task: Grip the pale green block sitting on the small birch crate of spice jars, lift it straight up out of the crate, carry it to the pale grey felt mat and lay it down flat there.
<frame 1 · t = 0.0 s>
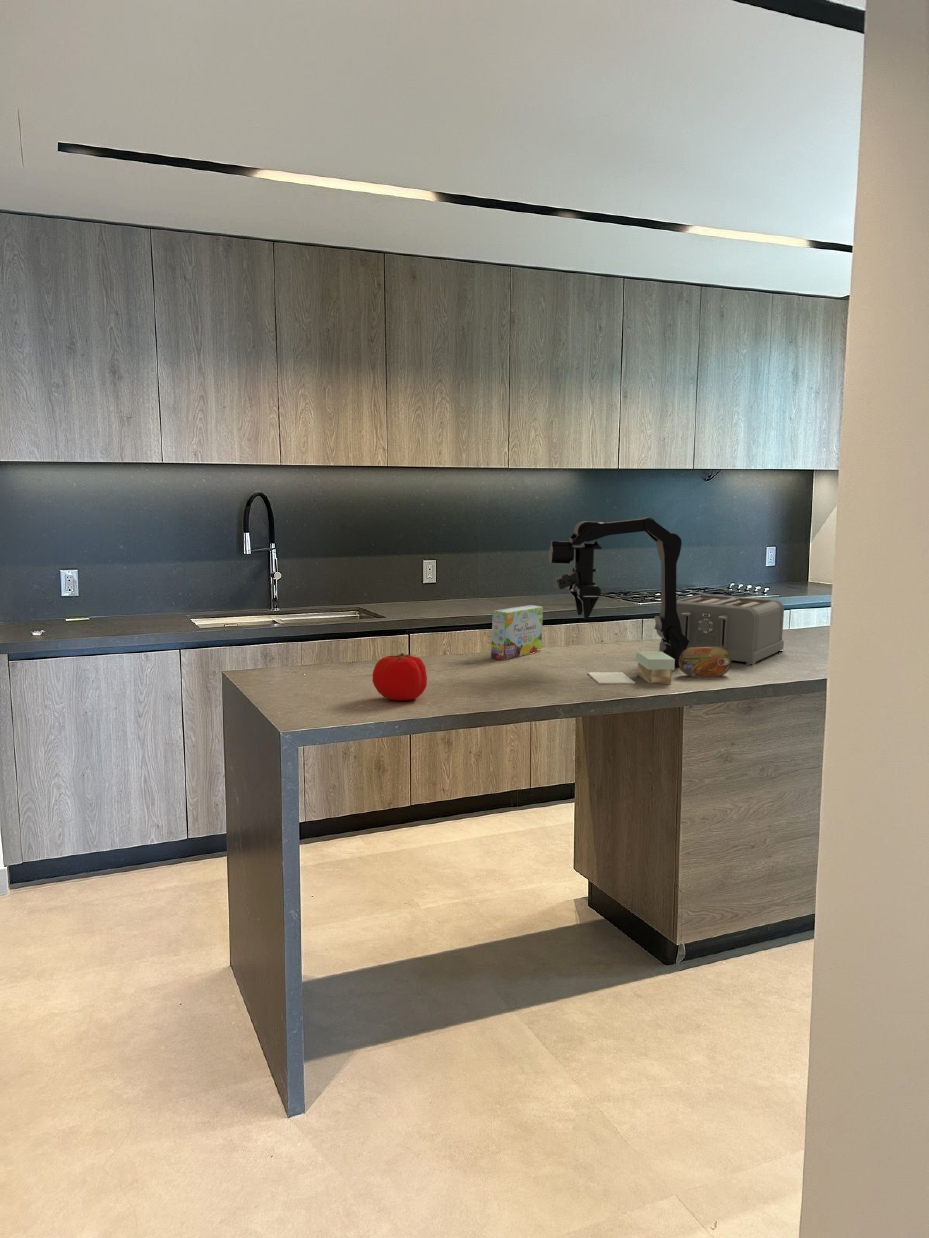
hand: (582, 617, 273), 15 cm above the countertop, tool pointing down, fingers open, 9 cm apart
snack box: (517, 655, 292), on the countertop
toaster: (719, 654, 301), on the countertop
tomato: (399, 700, 228), on the countertop
tin: (703, 676, 263), on the countertop
mat: (610, 678, 257), on the countertop
crate: (654, 679, 257), on the countertop
pale green block: (654, 670, 257), point 2 cm above the countertop, touching crate
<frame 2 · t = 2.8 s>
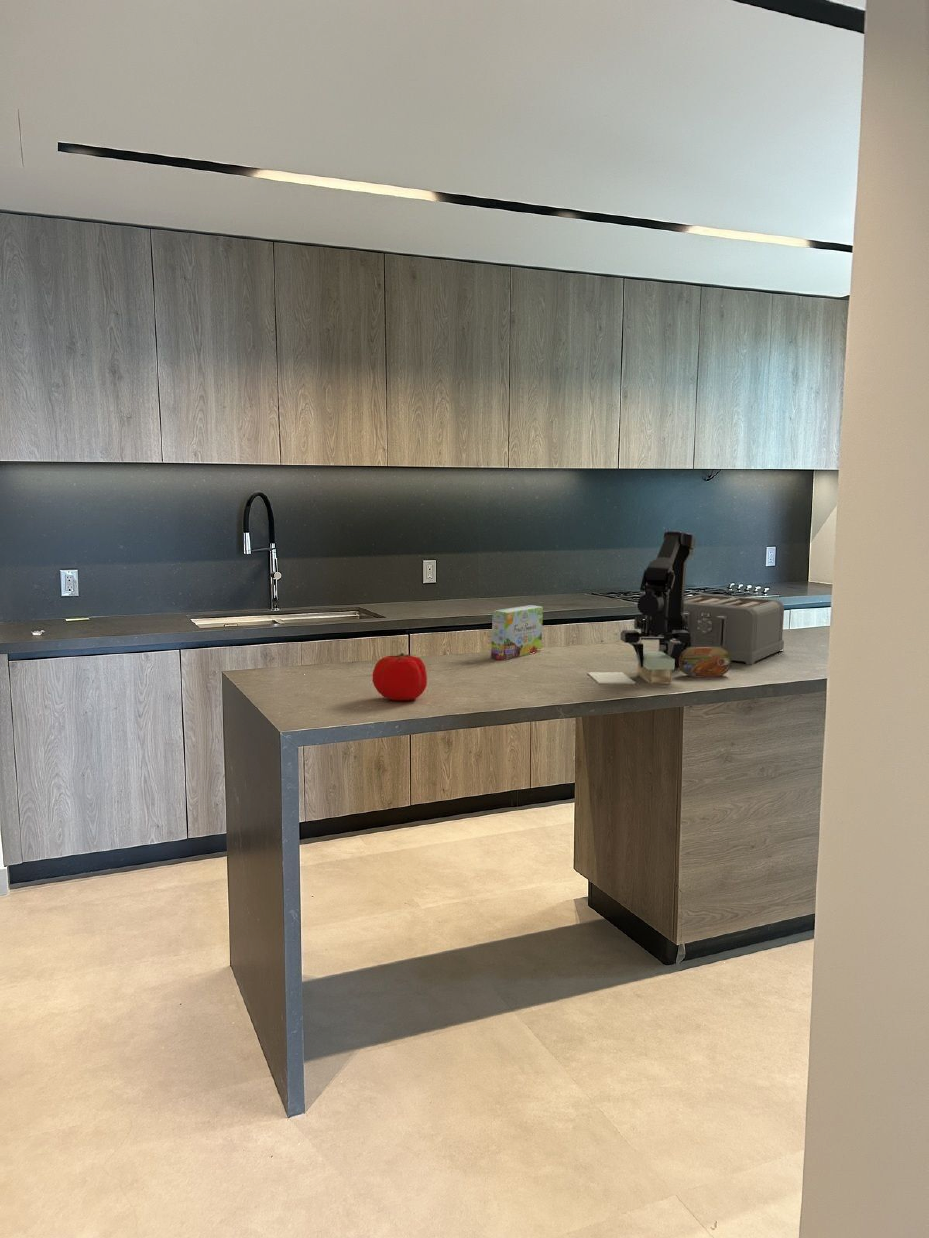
hand: (654, 667, 257), 3 cm above the countertop, tool pointing down, fingers closed on pale green block, 7 cm apart
pale green block: (654, 670, 257), point 2 cm above the countertop, touching crate, gripper
everything else where it was.
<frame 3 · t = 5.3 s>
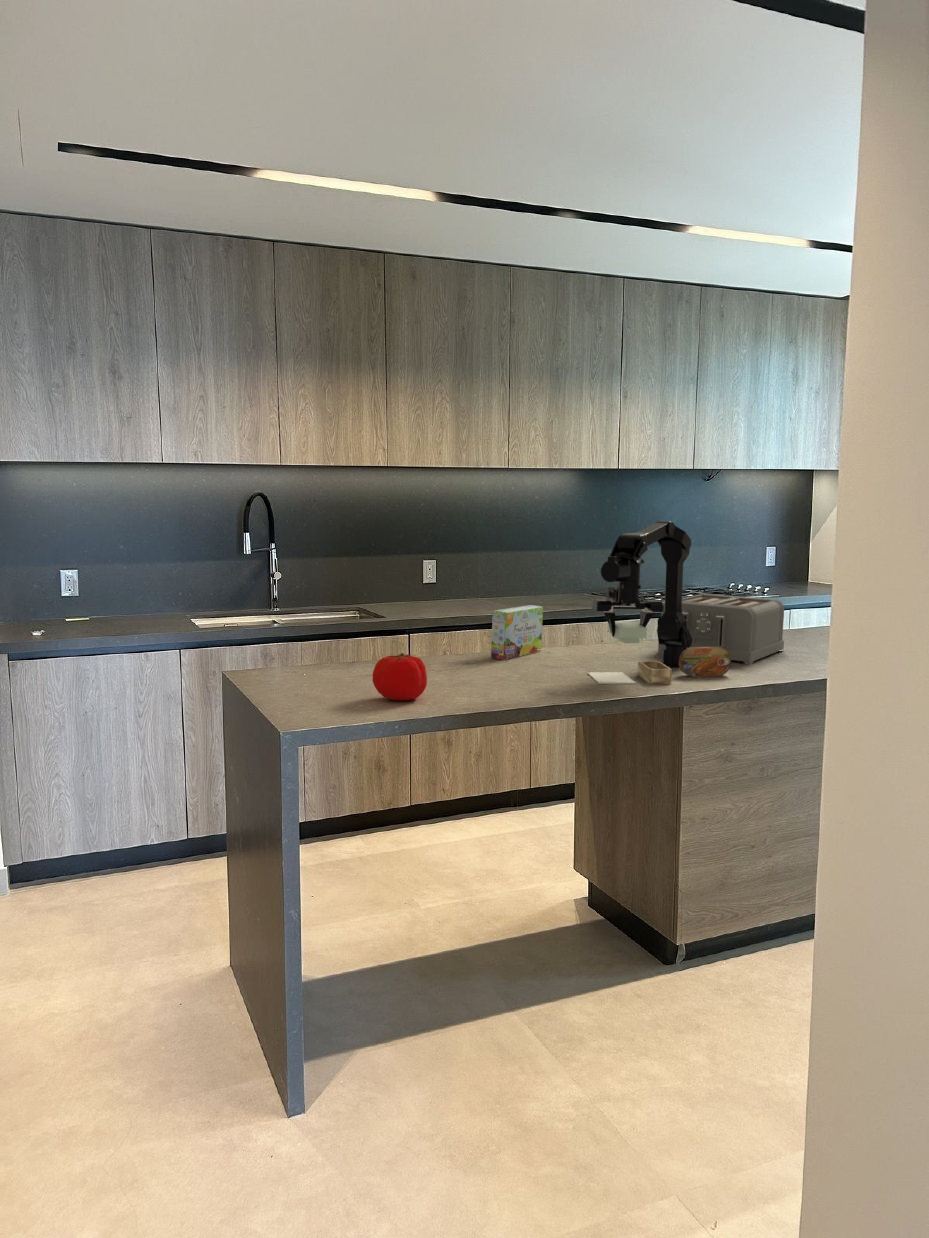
hand: (626, 636, 255), 12 cm above the countertop, tool pointing down, fingers closed on pale green block, 7 cm apart
pale green block: (626, 640, 255), point 11 cm above the countertop, touching gripper
everything else where it was.
when the fingers open (3 cm above the countertop, at t = 7.8 s): pale green block drops 1 cm, resting on mat.
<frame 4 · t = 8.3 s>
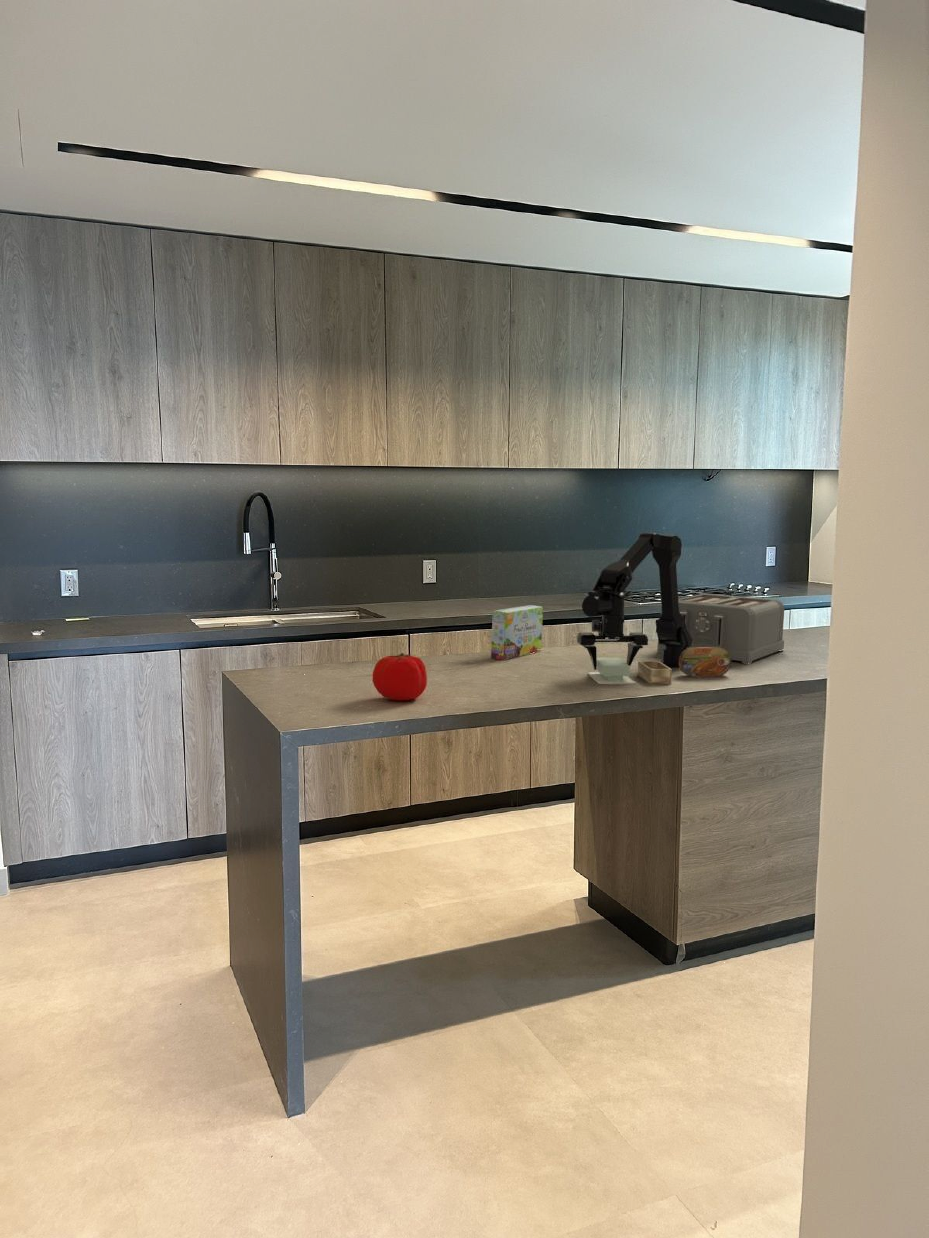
hand: (611, 669, 257), 3 cm above the countertop, tool pointing down, fingers open, 9 cm apart
pale green block: (610, 677, 257), resting on mat
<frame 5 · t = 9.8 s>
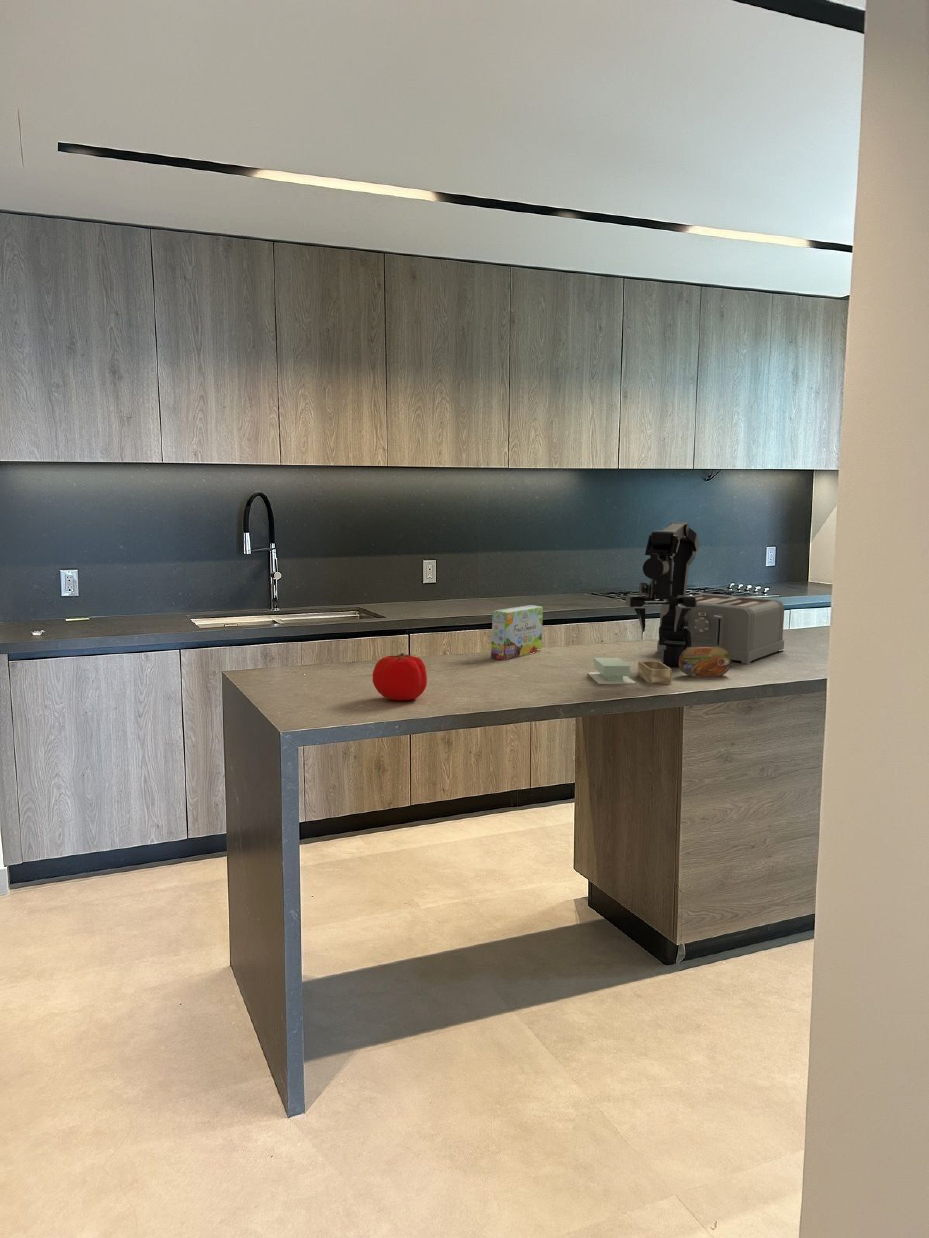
hand: (659, 631, 258), 13 cm above the countertop, tool pointing down, fingers open, 9 cm apart
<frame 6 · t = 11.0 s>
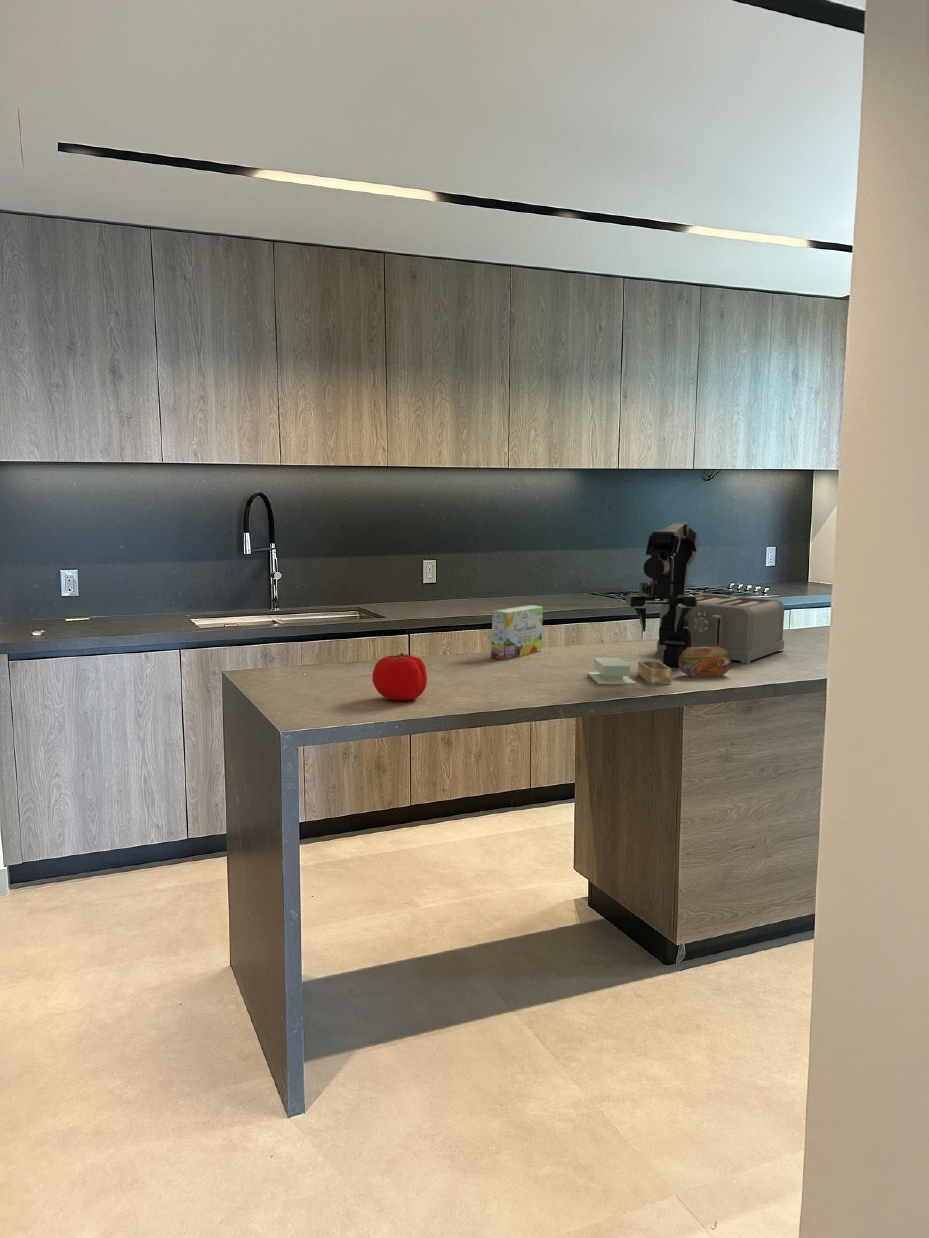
hand: (659, 631, 258), 13 cm above the countertop, tool pointing down, fingers open, 9 cm apart
at the end: pale green block inside the target area on the mat (0.1 cm from its centre), point 0.4 cm above the mat's base; pale green block tilted 0°; pale green block touching mat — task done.
